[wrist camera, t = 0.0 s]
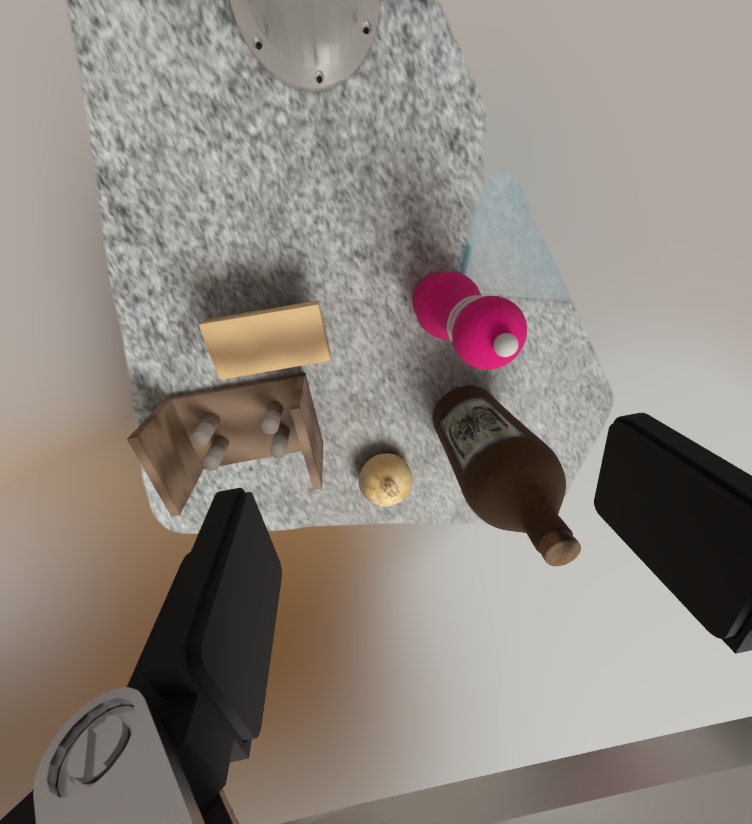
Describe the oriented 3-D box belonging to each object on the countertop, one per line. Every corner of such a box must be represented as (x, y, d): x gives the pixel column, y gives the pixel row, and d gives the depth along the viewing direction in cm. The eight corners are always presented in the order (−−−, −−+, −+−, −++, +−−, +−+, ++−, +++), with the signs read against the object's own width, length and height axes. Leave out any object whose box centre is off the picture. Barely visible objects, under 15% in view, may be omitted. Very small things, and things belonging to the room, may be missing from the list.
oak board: (206, 319, 37) (198, 324, 35) (319, 300, 38) (318, 304, 35) (225, 371, 40) (220, 379, 38) (330, 353, 40) (330, 360, 38)
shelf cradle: (166, 397, 45) (127, 439, 36) (305, 373, 46) (299, 408, 37) (198, 465, 50) (171, 516, 42) (323, 443, 51) (321, 488, 42)
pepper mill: (423, 258, 41) (493, 282, 23) (476, 280, 43) (577, 317, 25) (399, 317, 44) (446, 378, 26) (450, 335, 46) (525, 404, 28)
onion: (417, 471, 56) (428, 502, 49) (376, 496, 57) (381, 529, 51) (390, 437, 52) (398, 465, 46) (347, 464, 53) (349, 496, 47)
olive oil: (510, 419, 53) (638, 556, 31) (450, 456, 55) (530, 610, 33) (479, 366, 48) (604, 483, 26) (415, 409, 50) (481, 551, 28)
